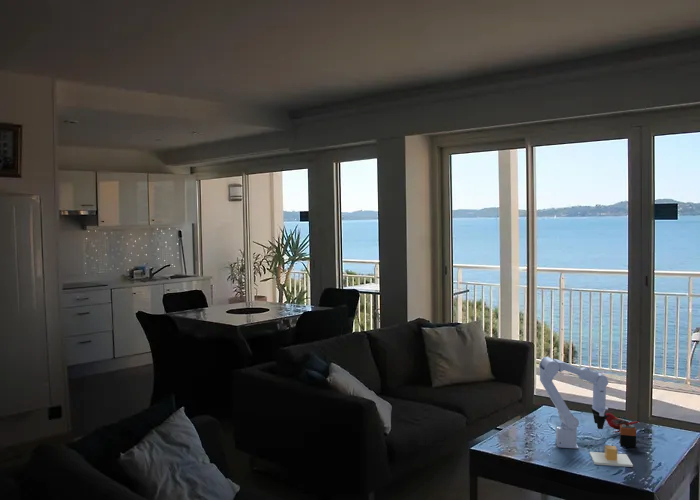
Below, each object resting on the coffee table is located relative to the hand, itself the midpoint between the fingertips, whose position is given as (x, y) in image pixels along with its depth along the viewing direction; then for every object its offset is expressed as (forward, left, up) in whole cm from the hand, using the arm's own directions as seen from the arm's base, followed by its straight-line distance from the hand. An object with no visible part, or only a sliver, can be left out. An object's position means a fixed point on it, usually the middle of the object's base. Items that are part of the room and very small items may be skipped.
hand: (598, 426), depth 299 cm
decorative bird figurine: (+15, +19, -10) cm, 26 cm away
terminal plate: (+2, -18, -9) cm, 20 cm away
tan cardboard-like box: (+2, -18, -8) cm, 20 cm away
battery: (+14, +2, -10) cm, 17 cm away
